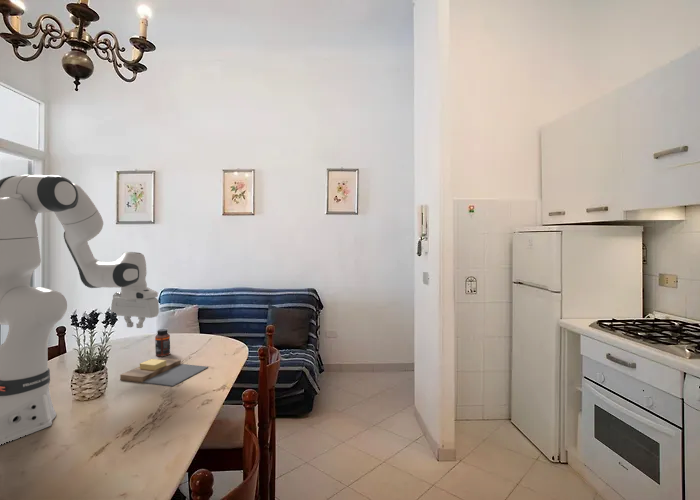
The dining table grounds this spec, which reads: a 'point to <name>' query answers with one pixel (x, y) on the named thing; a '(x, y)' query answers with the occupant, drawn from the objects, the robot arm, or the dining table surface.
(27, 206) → the robot arm
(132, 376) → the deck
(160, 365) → the pale yellow flat block
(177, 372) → the mat
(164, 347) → the supplement bottle
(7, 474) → the dining table surface
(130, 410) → the dining table surface
